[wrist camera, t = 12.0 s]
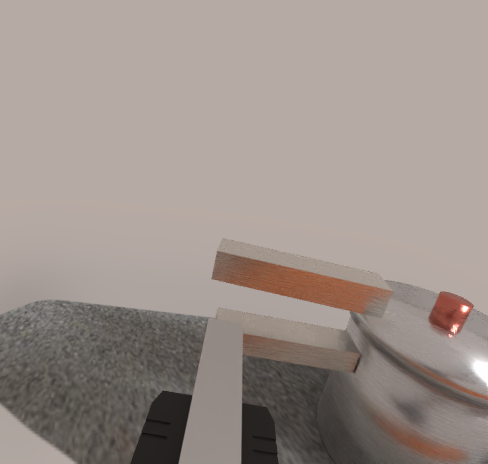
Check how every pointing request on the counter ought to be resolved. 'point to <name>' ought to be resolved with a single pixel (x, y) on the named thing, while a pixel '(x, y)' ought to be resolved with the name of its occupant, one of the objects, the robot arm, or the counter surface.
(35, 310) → the counter surface
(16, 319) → the counter surface
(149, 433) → the robot arm
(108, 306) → the counter surface
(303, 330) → the cooker pot
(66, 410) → the counter surface
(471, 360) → the lid
